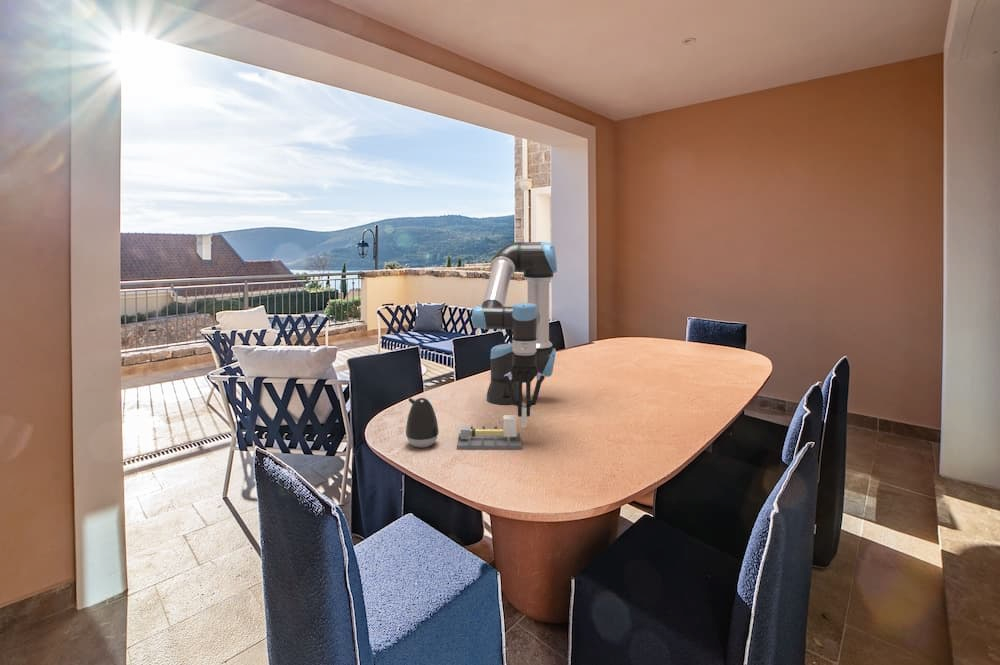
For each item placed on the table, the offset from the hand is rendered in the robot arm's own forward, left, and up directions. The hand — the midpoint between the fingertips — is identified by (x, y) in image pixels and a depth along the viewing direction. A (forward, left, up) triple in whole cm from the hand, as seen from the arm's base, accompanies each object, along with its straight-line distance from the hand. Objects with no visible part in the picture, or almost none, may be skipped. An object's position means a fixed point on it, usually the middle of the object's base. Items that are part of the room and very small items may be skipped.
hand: (523, 426), depth 155 cm
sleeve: (-4, -3, -3) cm, 5 cm away
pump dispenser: (-25, -21, -6) cm, 33 cm away
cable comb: (-9, -7, -6) cm, 12 cm away
